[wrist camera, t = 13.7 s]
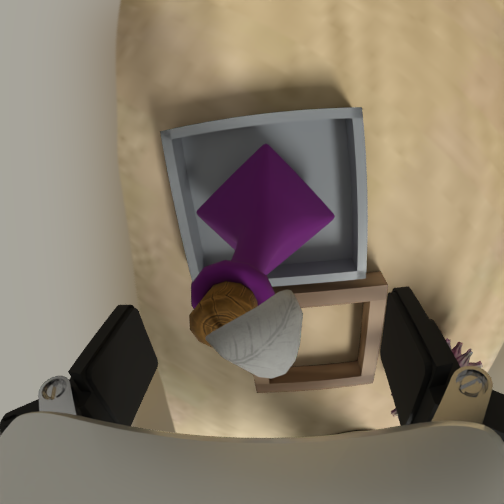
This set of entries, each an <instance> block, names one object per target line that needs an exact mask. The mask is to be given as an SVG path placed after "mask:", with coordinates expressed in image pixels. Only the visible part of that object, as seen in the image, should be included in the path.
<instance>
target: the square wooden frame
mask: <svg viewBox="0 0 504 504" xmlns="http://www.w3.org/2000/svg"><path fill="white" fill-rule="evenodd" d="M272 288H273V290H274V292H275V294H276V293H278V292H280V291H283V290H287V289H288V290H291V291H292V292H293V294H294V295H295V297H296V299H297V301H298V303H299V306H300V308H306V307H318V306H329V305H340V304H350V303H359V302H363V314H362V326H361V336H360V345H359V354H358V361H354V362H345V363H336V364H325V365H314V366H301V367H290V368H289V370H288V371H287V372H286V374H283V375H281V376H278V377H275V378H263V377H258V376H256V375H254V374H253V376H254V381H255V386H256V390H257V393H265V392H289V391H305V390H318V389H329V388H339V387H347V386H356V385H363V384H370V383H373V380H374V375H375V370H376V365H377V359H378V354H379V348H380V342H381V335H382V329H383V322H384V314H385V306H386V298H387V288H388V284H387V282H386V280H385V278H384V277H383V275H382V273H381V271H380V272H370V273H366V279H356V280H345V281H334V282H323V283H312V284H300V285H287V286H274V287H272Z"/></svg>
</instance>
